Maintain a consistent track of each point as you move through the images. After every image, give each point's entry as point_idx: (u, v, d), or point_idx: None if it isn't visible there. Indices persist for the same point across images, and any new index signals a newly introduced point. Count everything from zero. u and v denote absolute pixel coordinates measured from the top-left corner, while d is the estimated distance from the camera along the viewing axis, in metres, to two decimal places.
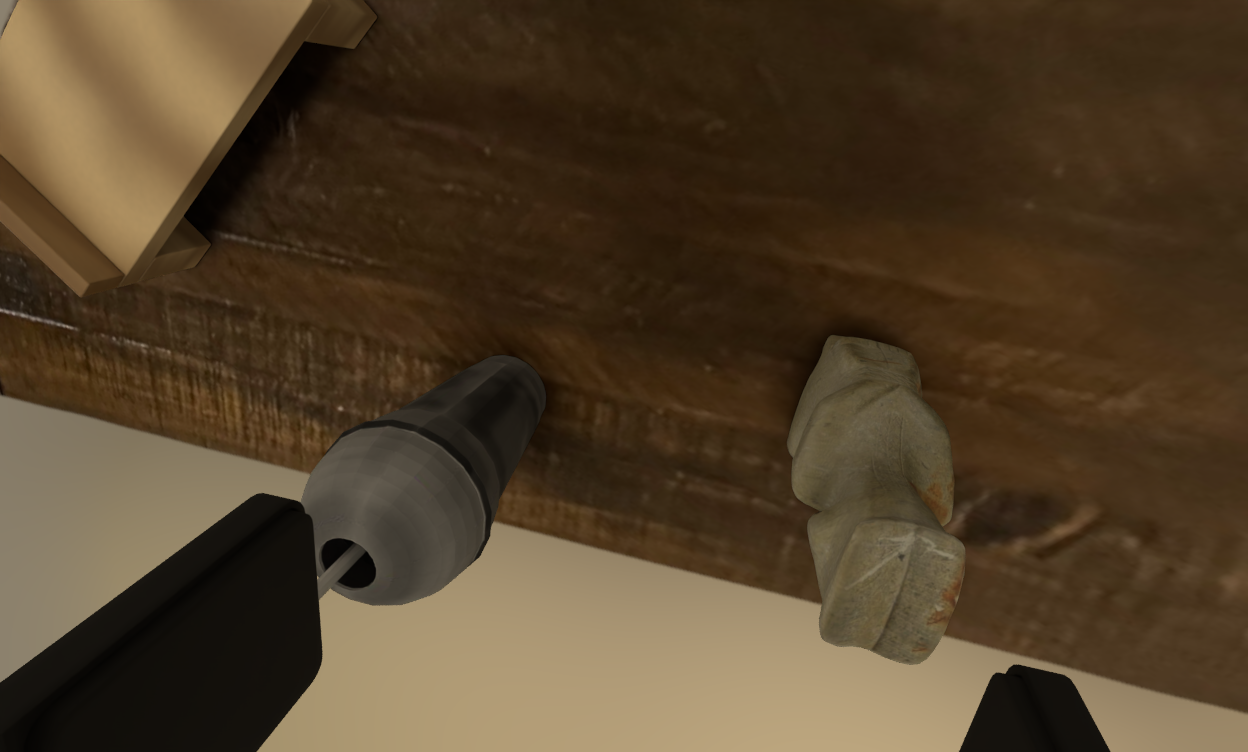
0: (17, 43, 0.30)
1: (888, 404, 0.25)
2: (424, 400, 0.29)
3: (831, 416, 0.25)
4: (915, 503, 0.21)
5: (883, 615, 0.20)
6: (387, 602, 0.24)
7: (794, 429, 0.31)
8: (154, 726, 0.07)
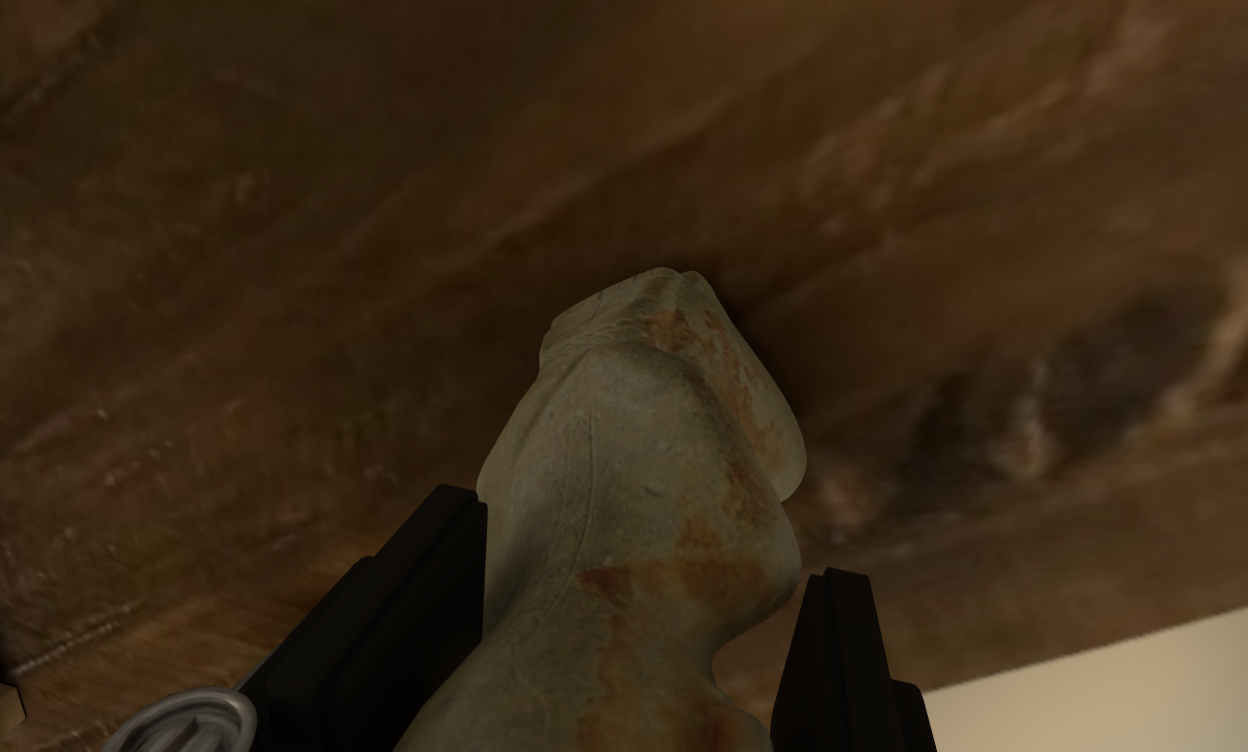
0: None
1: (562, 405, 0.12)
2: None
3: (484, 497, 0.12)
4: (486, 683, 0.07)
5: None
6: None
7: None
8: (394, 693, 0.08)
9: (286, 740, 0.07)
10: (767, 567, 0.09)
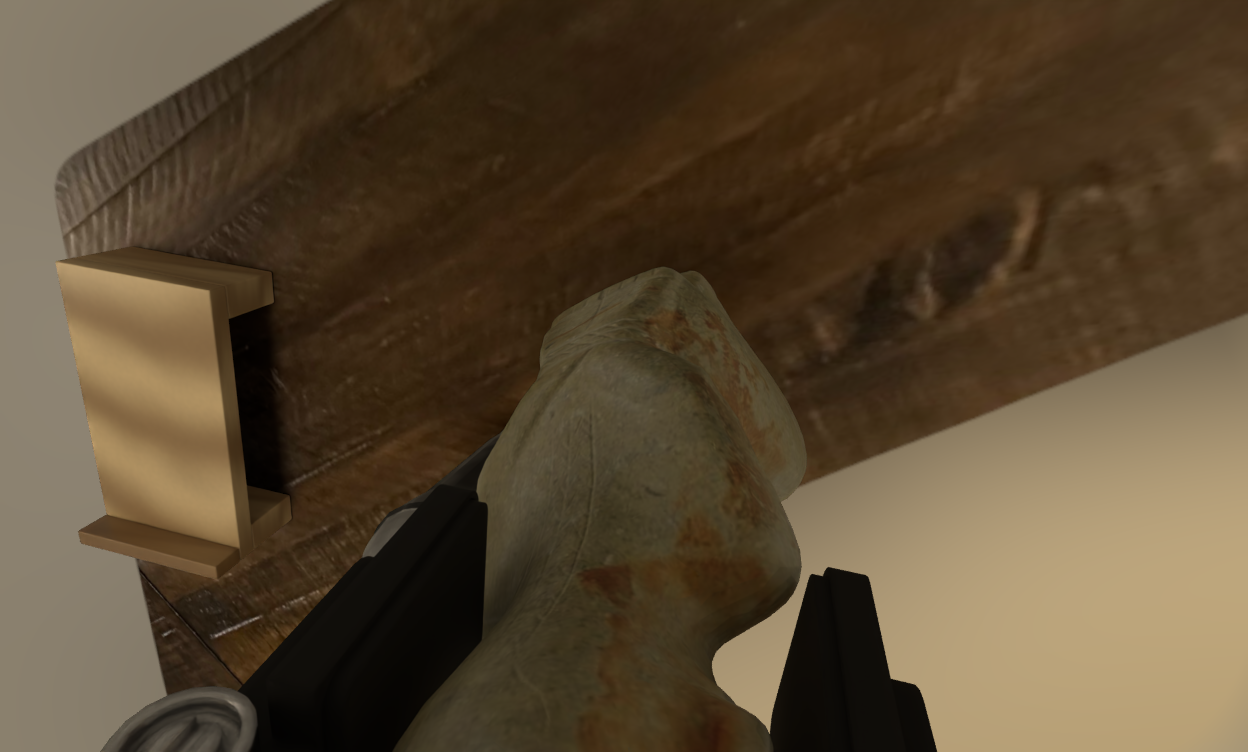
0: (102, 446, 0.43)
1: (563, 405, 0.12)
2: None
3: (484, 497, 0.12)
4: (487, 682, 0.07)
5: None
6: None
7: None
8: (394, 693, 0.08)
9: (286, 740, 0.07)
10: (767, 566, 0.09)
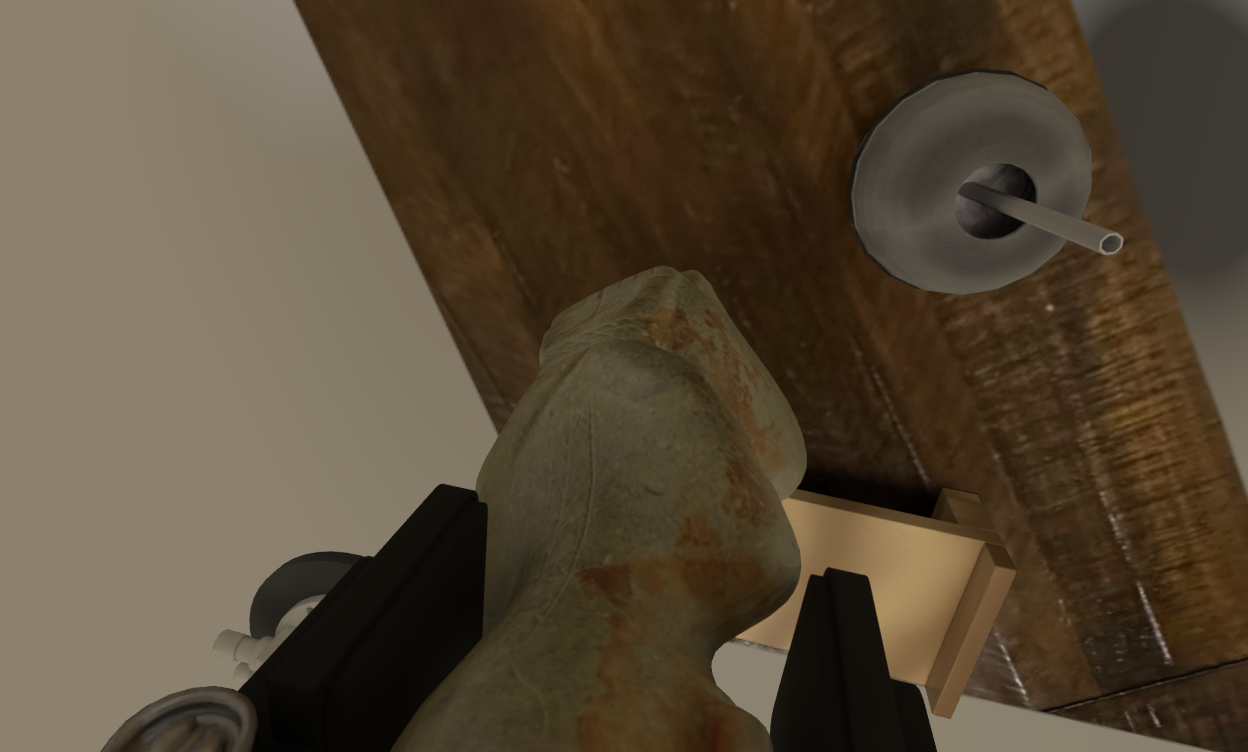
0: None
1: (562, 404, 0.12)
2: None
3: (483, 496, 0.12)
4: (485, 682, 0.07)
5: None
6: (1041, 129, 0.19)
7: None
8: (394, 693, 0.08)
9: (286, 740, 0.07)
10: (767, 566, 0.09)
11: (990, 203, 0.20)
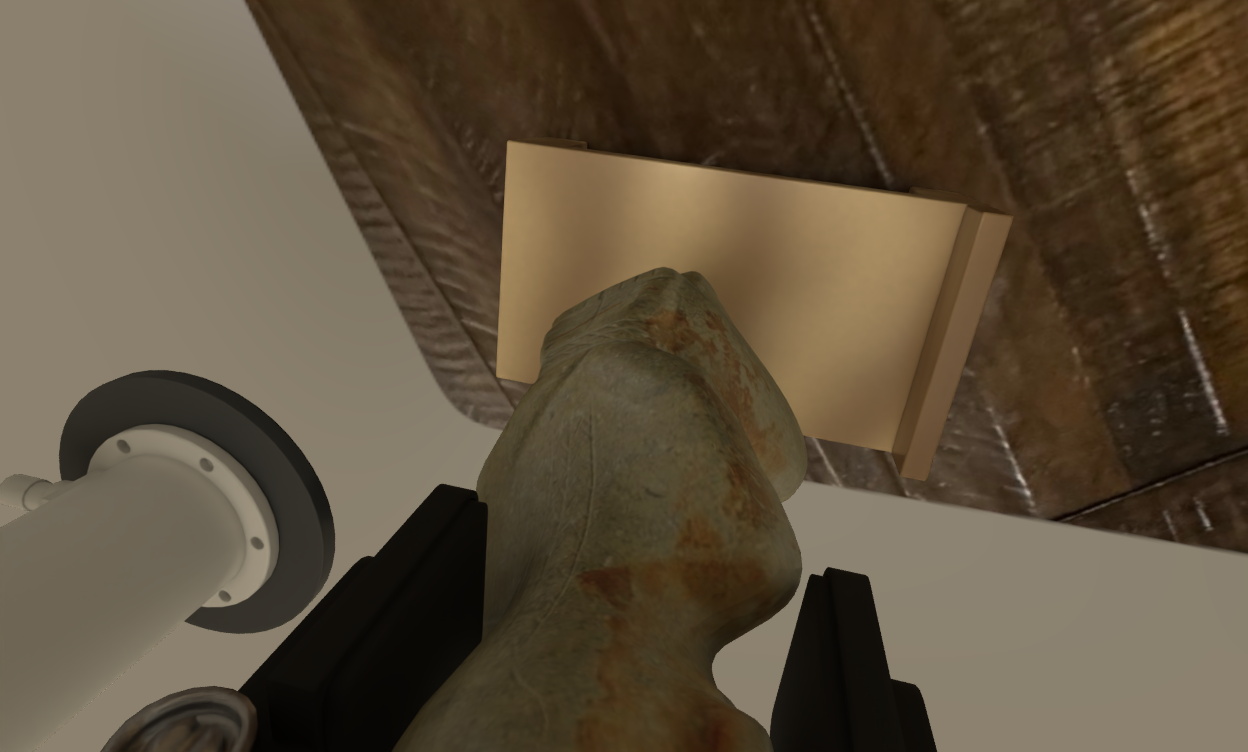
0: None
1: (562, 405, 0.12)
2: None
3: (484, 498, 0.12)
4: (485, 686, 0.07)
5: None
6: None
7: None
8: (394, 693, 0.08)
9: (286, 740, 0.07)
10: (767, 569, 0.09)
11: None
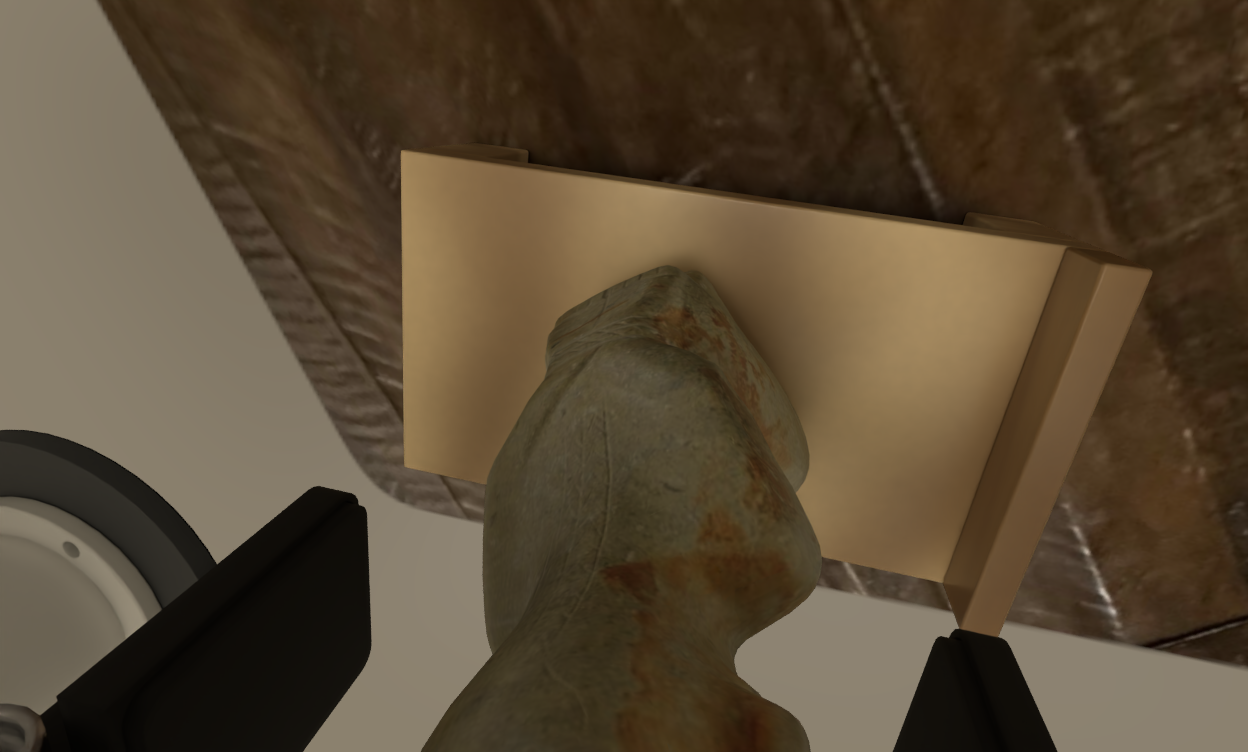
0: None
1: (574, 403, 0.11)
2: None
3: (494, 497, 0.12)
4: (518, 681, 0.07)
5: None
6: None
7: None
8: (231, 707, 0.07)
9: None
10: (790, 561, 0.09)
11: None
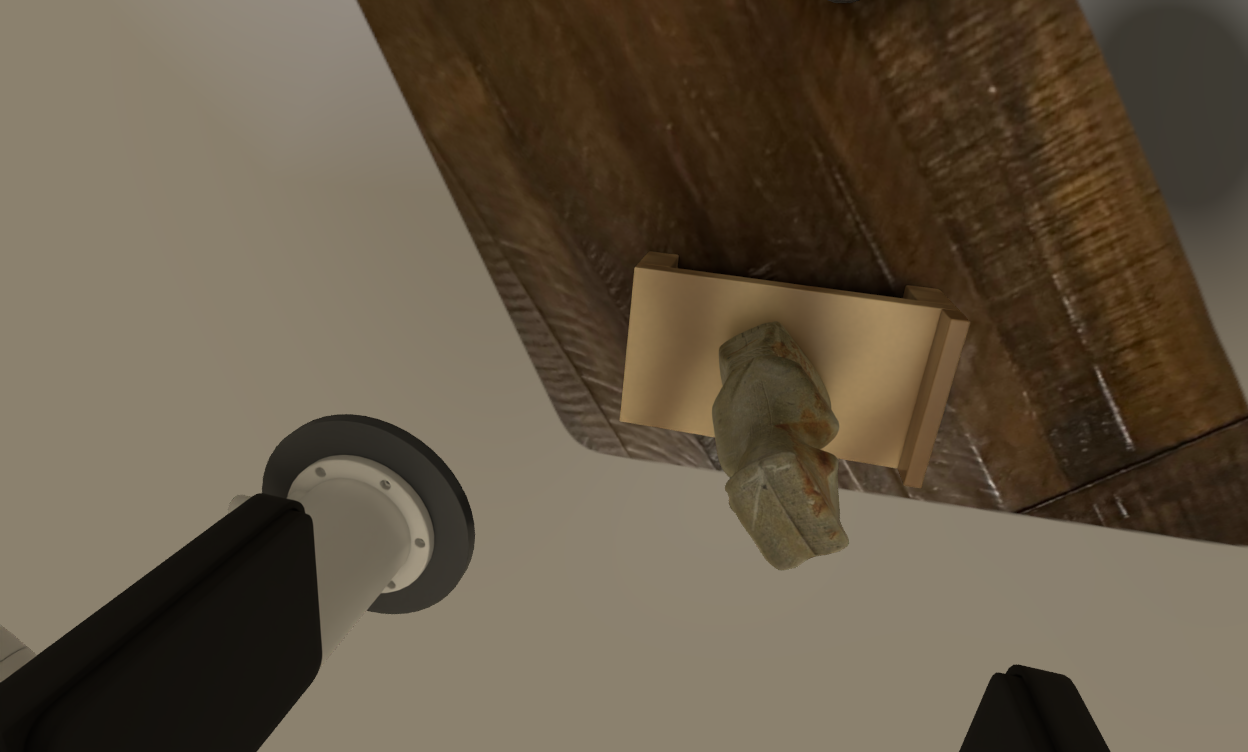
0: None
1: (749, 378, 0.32)
2: None
3: (719, 414, 0.32)
4: (765, 443, 0.28)
5: (792, 529, 0.27)
6: None
7: None
8: (154, 726, 0.07)
9: None
10: (829, 423, 0.30)
11: None
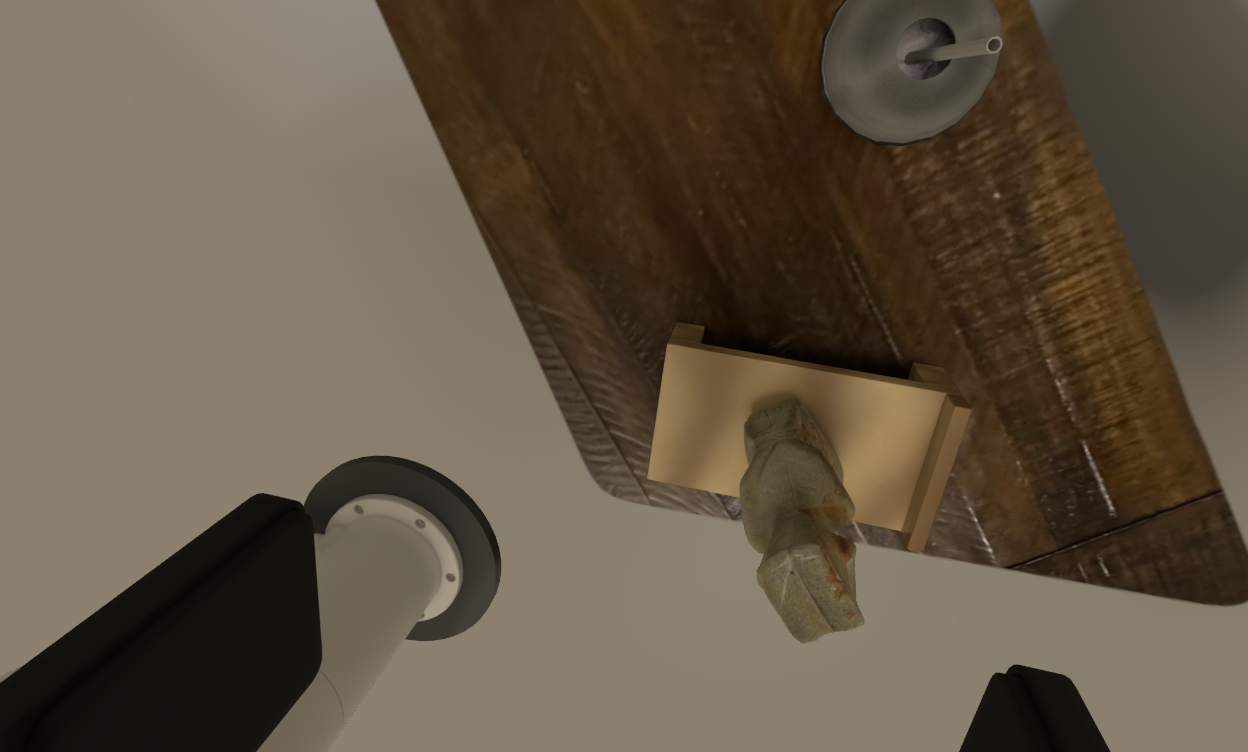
0: None
1: (774, 461, 0.36)
2: None
3: (746, 491, 0.36)
4: (792, 531, 0.31)
5: (815, 609, 0.30)
6: None
7: None
8: (154, 726, 0.07)
9: None
10: (847, 508, 0.34)
11: (924, 57, 0.27)
